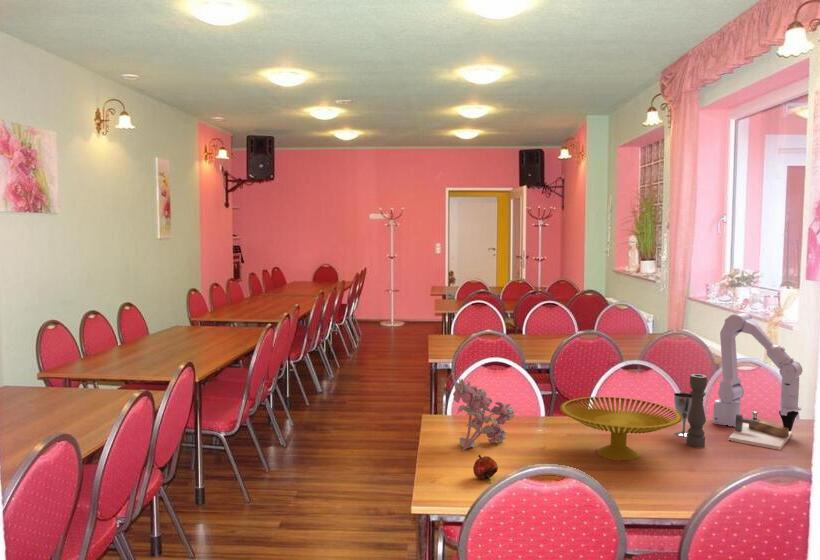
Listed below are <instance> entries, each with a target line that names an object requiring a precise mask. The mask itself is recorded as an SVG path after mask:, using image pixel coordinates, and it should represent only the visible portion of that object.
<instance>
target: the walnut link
mask: <svg viewBox="0 0 820 560" xmlns="http://www.w3.org/2000/svg"><path fill="white" fill-rule="evenodd" d="M757 420H759V424H758V425H755V424H749V423H748V424H749V428H751V429H756V430H759V431H763V432H766V433H770V434H773V435H776V436H780V437H788V434H789V428H786V427H783V425H782V426H781V425H778V424H775V423H771V422H768V421H765V420H761V419H758V418H757Z"/></svg>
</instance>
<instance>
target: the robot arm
mask: <svg viewBox="0 0 820 560" xmlns="http://www.w3.org/2000/svg"><path fill="white" fill-rule="evenodd" d="M740 333H744V334H748V335H751V336H752V337H753V338H754V339H755V340H756V341H757V342H758V343H759V344H760V345H761V346H762V347H763V348H764V349H765V350H766V357H768V358H769V359H770V360H771V362H772V363H773V364H774V365H775V366H776V367H777V368H778V371H779V374H780V376H781V388H780V389H781V391H780V402H779V403H780V404H779V408H780V410H779V411H778V414H779V416H780V418H781V421H782V427H786V428H789V431H792V429H793V426H794V423H795V421H796V418H797V416H798V415H799V411H802V407H799V394H800V393H799V391H800V376H801V375H802V374H803V367H802V365H801V363H800V362H798V361H795V360H794V358H793V357H791V356H790V355H789V354H788V352H786V349H785V347H784V346H781V345H776V344H774V342H773V341H772V340H771V339H770V337H769V336H768V335H767V333H766V332H765V331H764V330H763V328H761V326H760V325H759V323H758V321H757V320H756V318H753V316H752V315H751V313H748V312H740V313H734V314H731V315H729V316H728V317H727V318H725V319H724V324H723V326H722V328H721V330H720V332H719V334H720V335H719V336H720V337H719V338H720V351H721V352H720V353H721V366H722V368H721V369H722V378H721V381H720V382H719V389H718V391H717V395H718V398H719V399H715V400H714V403H713V410H712V411H713V412H712V424H716V425H721V426H726V425H728V427H732V426H733V428H735V426H736V415H737V414H740V415H741V404H742V401H741V398H743V397H744V394H745V389H744V387H743V385H742V381H741V378H739V375H738V373H739V372H738V359H737V344H736V341H737V340H736V337H737V336H738V335H740Z"/></svg>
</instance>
